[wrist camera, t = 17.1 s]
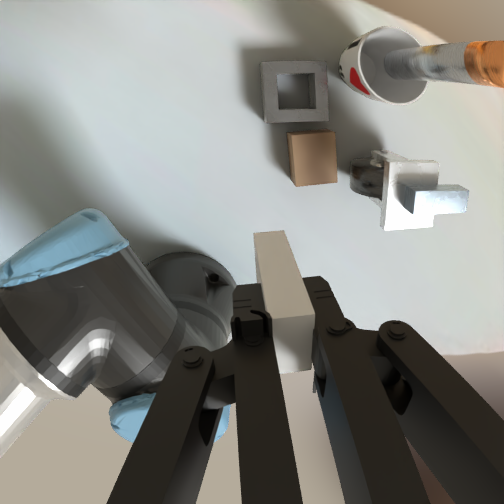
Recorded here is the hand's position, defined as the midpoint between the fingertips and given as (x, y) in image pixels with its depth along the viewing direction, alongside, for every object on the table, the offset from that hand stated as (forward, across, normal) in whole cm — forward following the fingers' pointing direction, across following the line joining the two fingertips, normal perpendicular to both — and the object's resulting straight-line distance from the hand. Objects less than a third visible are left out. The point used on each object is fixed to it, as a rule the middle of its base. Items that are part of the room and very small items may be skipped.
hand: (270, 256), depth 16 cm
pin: (+14, +15, +11) cm, 23 cm away
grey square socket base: (+24, +6, +8) cm, 26 cm away
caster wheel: (+24, +16, -2) cm, 29 cm away
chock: (+25, +8, 0) cm, 26 cm away
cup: (+25, +14, +11) cm, 31 cm away
